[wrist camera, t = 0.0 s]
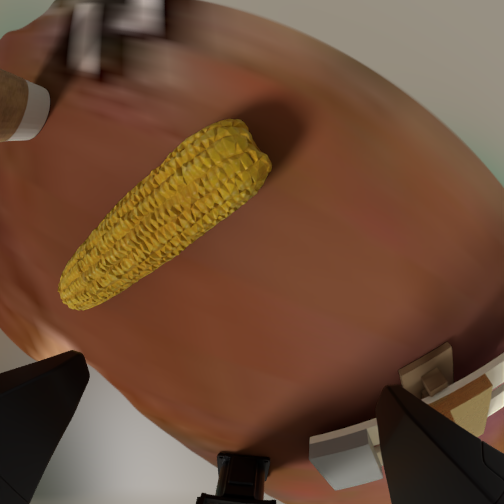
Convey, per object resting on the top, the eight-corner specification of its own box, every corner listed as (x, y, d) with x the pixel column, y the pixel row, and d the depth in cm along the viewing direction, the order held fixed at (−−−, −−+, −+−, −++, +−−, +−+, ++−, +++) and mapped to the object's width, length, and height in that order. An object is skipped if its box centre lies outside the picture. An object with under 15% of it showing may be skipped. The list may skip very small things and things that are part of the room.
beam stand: (412, 442, 26) (420, 459, 22) (397, 370, 23) (410, 392, 19) (450, 421, 25) (459, 437, 21) (447, 341, 22) (463, 359, 18)
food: (236, 117, 19) (223, 93, 13) (282, 177, 20) (287, 173, 14) (69, 272, 23) (30, 293, 17) (102, 318, 24) (68, 347, 18)
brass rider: (420, 447, 22) (434, 508, 13) (414, 404, 20) (438, 482, 11) (476, 418, 20) (500, 474, 11) (482, 369, 18) (521, 434, 9)
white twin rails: (335, 472, 26) (335, 490, 23) (309, 437, 24) (308, 459, 21) (543, 368, 17) (553, 380, 14) (554, 310, 15) (568, 322, 12)
